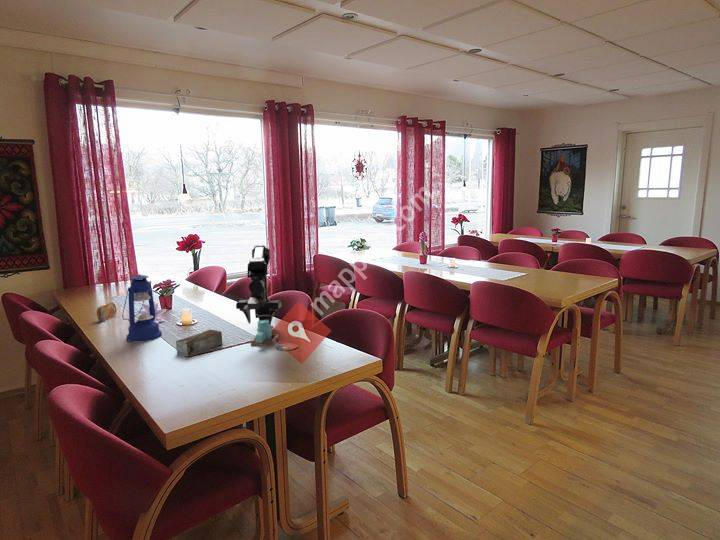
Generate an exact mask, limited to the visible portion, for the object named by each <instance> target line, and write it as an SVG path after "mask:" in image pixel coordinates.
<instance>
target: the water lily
mask: <svg viewBox="0 0 720 540" xmlns="http://www.w3.org/2000/svg"><path fill="white" fill-rule="evenodd" d="M142 304H143V307H142V308H143V309H144V310H141V311H140V310H139V311H140V313H139V311H138V313H139V314H140V315H141V314H145V315H150V311H149V308H150V307H149V305H148V304H146V303H142ZM145 306H146V307H145ZM158 307H159V303H157V302H156V303H155V302H154V308H155V320H154V322H157V323H158V324H159V321H162V322H168V320H167V318H166V317H164V316H162V315H161V314H163V313H165V312H166V311H167V308H161V309H158ZM138 313H137V314H138ZM139 314H138V315H139Z"/></svg>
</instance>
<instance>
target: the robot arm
mask: <svg viewBox="0 0 720 540" xmlns="http://www.w3.org/2000/svg"><path fill="white" fill-rule="evenodd" d="M270 260H271V249H270V248H267V247H266V245H264V244H261V245H259V244H258V245H254V248H252V249H251V258H250V259H249V262H247V276H246V277H247V278H248V279H249V278H250V282H249V285H248V289H249V292H250V297H249V299H240V300H239V301H237V302H236V305H235V309H237V310H239V311H241V312H242V313H243V314H244V316H245V318H246V321H247V322H248V324H251V319H252V318H251V310H254V313H255V315H254V316H255V319H258V321H260V320H269V324H271V329H272V328H274V326H273V325H272V322H273V318H274V317H275V312H276V311H278V310H279V309H281V307H282V301H281V300H279V299H277V300H274V299H273V300H271V299H270V298H269V296H268V270H269V269H268V266H269V263H270ZM256 330H257V331H258V328H256Z"/></svg>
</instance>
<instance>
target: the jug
mask: <svg viewBox="0 0 720 540" xmlns="http://www.w3.org/2000/svg"><path fill="white" fill-rule="evenodd" d="M271 326H272V323H271V324H269V320H260V321H259V320H258V321H257V329H258V330H257V333H256V334H255V336H256V342H260V343H262V342H263V341H272V340H273V339H272V332H273V331H272V328H271ZM255 336H254V337H255Z"/></svg>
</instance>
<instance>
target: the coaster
mask: <svg viewBox="0 0 720 540" xmlns="http://www.w3.org/2000/svg"><path fill="white" fill-rule="evenodd" d="M288 343H289V342H288ZM284 344H285V343H280V344H278V345H277V346H276V349H277V348H278V349H280V350H279V351H281V350H285V348H286V347H283V346H284ZM280 345H281V346H280ZM287 347H289V348H288V349H289V350H290V343H289V346H287ZM278 349H277V350H278ZM286 350H287V349H286ZM290 351H291V350H290Z"/></svg>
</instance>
